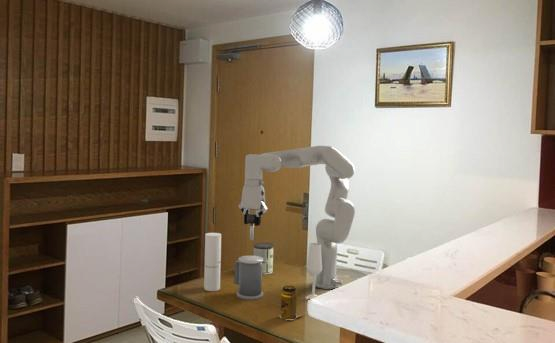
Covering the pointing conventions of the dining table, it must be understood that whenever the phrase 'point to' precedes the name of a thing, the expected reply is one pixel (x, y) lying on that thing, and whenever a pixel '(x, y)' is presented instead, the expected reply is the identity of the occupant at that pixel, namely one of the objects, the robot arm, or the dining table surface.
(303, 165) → the robot arm
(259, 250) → the coffee can
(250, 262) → the press housing
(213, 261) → the cylindrical container
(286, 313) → the condiment
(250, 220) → the plunger
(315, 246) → the champagne flute
